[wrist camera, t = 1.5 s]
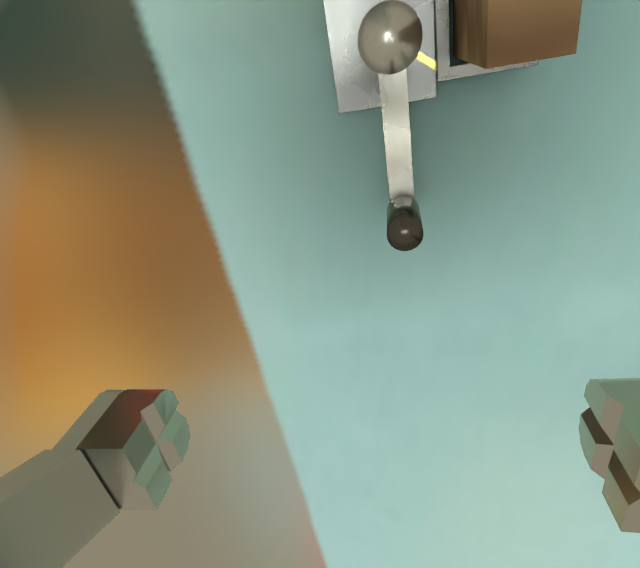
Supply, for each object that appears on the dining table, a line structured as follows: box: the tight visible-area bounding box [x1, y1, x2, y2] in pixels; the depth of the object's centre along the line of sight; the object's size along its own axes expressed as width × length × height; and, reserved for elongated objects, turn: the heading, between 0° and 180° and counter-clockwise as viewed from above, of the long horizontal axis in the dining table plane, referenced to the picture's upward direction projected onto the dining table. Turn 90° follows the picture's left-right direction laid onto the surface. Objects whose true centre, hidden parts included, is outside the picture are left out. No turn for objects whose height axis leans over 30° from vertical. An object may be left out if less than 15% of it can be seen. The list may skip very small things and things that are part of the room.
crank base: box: [323, 0, 437, 113], centre depth 29 cm, size 9×8×4 cm
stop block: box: [453, 0, 582, 69], centre depth 24 cm, size 4×4×12 cm
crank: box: [358, 0, 423, 251], centre depth 27 cm, size 15×4×6 cm, turn 10°
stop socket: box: [434, 0, 538, 82], centre depth 28 cm, size 7×7×2 cm
